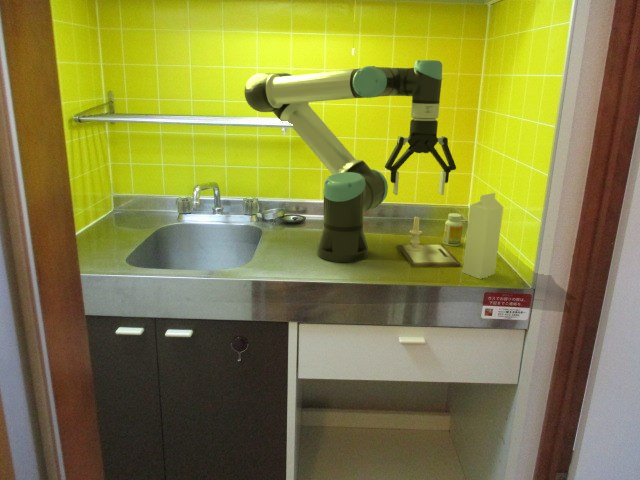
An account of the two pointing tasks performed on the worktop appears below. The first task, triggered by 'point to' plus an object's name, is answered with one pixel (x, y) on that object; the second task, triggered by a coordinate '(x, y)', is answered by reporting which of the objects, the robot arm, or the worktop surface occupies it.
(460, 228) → the supplement bottle
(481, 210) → the milk
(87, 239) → the worktop surface
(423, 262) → the writing board
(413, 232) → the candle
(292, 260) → the worktop surface
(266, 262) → the worktop surface
